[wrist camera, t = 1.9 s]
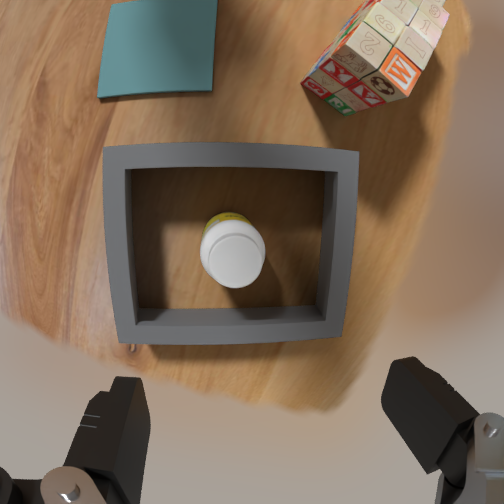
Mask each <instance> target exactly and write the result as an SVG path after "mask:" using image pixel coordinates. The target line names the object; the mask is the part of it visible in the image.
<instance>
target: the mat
mask: <svg viewBox="0 0 504 504" xmlns="http://www.w3.org/2000/svg"><path fill="white" fill-rule="evenodd" d="M217 2H218V0H139V1H131V2H124V3H118V4H112V6H111V10H110V15H109V19H108V24H107V30H106V35H105V41H104V47H103V53H102V60H101V67H100V75H99V84H98V94H97V98H99V99H100V98H108V97H116V96H125V95H136V94H149V93H165V92H198V91H212V77H213V58H214V42H215V28H216V15H217Z"/></svg>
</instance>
